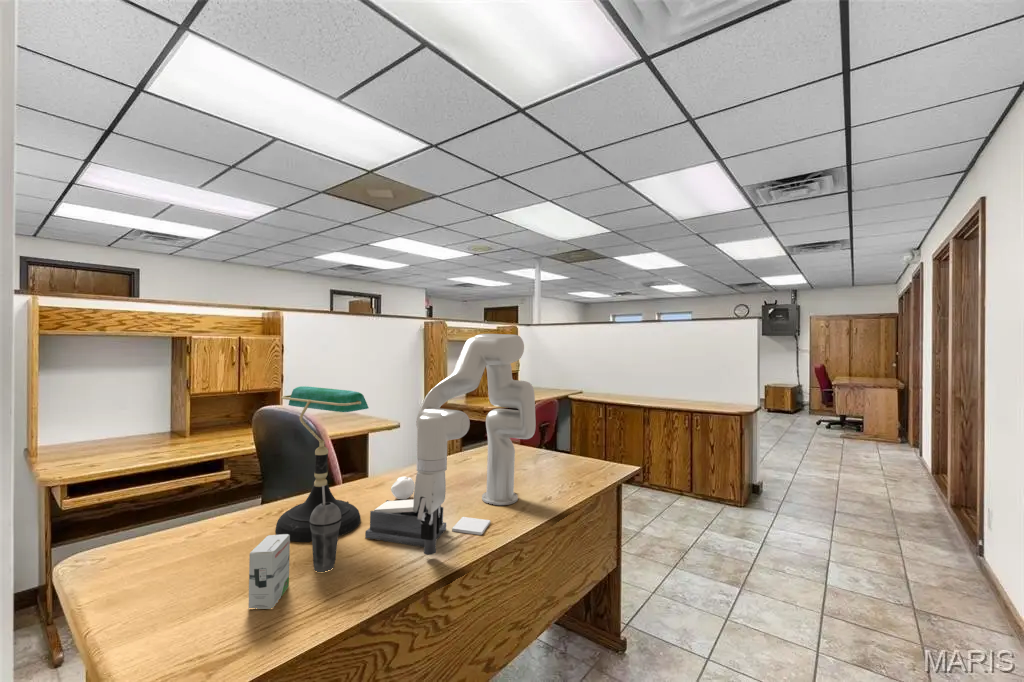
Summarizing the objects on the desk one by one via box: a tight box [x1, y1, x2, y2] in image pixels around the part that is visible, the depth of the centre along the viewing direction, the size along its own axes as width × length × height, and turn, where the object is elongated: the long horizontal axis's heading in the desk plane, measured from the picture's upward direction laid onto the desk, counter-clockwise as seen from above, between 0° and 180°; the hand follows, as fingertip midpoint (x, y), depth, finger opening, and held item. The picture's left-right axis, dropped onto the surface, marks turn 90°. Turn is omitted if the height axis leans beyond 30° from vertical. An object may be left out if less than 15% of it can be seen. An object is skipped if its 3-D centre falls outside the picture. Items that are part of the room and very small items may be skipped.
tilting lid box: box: [364, 499, 447, 548], centre depth 127 cm, size 19×12×7 cm, turn 77°
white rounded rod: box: [423, 509, 437, 556], centre depth 113 cm, size 3×3×12 cm
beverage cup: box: [309, 486, 342, 573], centre depth 107 cm, size 7×7×20 cm
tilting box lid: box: [373, 498, 414, 513], centre depth 127 cm, size 17×7×1 cm, turn 77°
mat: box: [451, 516, 491, 536], centre depth 133 cm, size 9×9×1 cm
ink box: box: [248, 534, 291, 609], centre depth 94 cm, size 9×5×12 cm, turn 5°
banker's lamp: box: [274, 385, 369, 543], centre depth 132 cm, size 26×23×40 cm
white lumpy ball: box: [390, 476, 415, 500], centre depth 155 cm, size 8×8×8 cm
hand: (430, 535), depth 113 cm, fingers closed on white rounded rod, 3 cm apart
